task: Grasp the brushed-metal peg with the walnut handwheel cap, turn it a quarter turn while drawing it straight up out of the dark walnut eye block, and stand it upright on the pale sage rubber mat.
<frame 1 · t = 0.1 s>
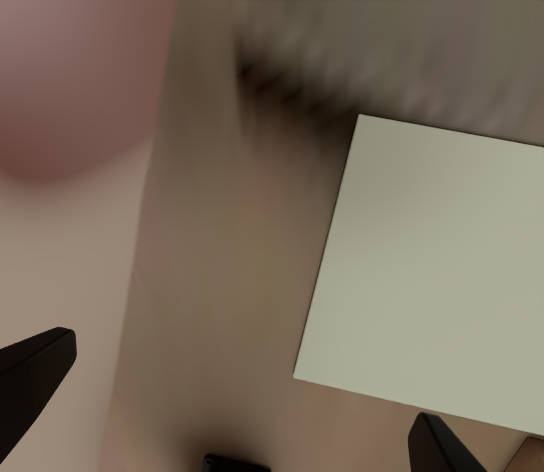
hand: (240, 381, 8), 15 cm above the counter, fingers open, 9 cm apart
sage mat: (465, 295, 22), on the counter
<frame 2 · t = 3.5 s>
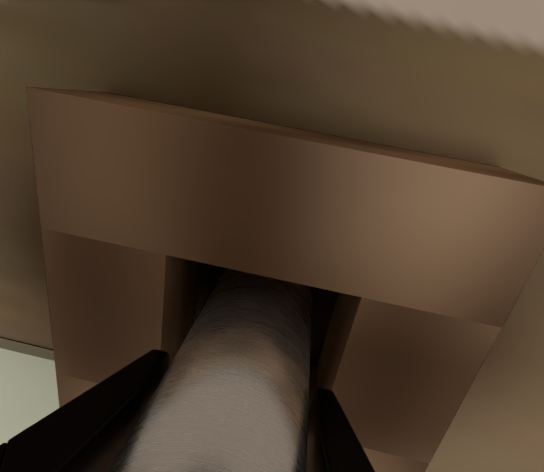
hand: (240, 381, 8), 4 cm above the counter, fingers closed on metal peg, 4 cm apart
metal peg: (233, 404, 8), in the walnut eye block, touching gripper
walnut eye block: (263, 297, 12), on the counter
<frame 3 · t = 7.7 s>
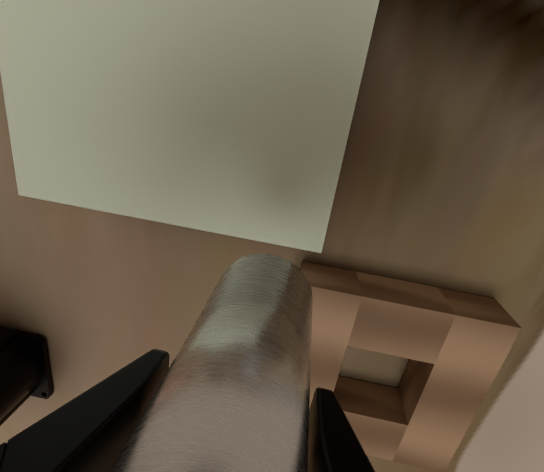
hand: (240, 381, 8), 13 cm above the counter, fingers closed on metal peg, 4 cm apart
metal peg: (234, 404, 8), point 14 cm above the counter, touching gripper
sage mat: (174, 46, 18), on the counter
walnut eye block: (371, 353, 23), on the counter
when the fingers open (5 cm above the counter, at t = 12.3 s): metal peg stays where it is, resting on sage mat.
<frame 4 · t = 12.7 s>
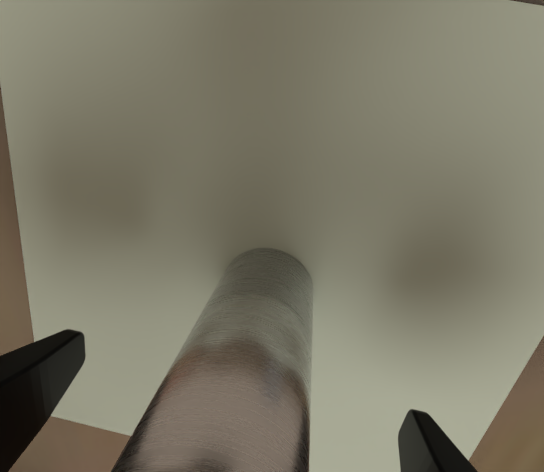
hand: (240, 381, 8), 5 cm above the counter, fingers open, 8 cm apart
metal peg: (239, 388, 8), on the sage mat
sage mat: (268, 283, 13), on the counter
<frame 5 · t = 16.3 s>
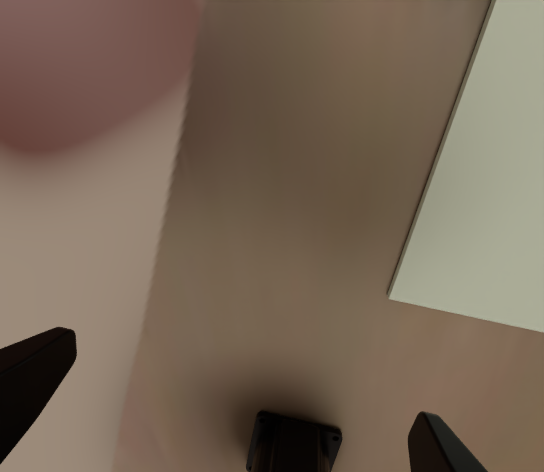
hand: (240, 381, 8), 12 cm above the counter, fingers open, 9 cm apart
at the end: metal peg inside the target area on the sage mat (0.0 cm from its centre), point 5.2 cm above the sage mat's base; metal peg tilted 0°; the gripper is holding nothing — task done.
